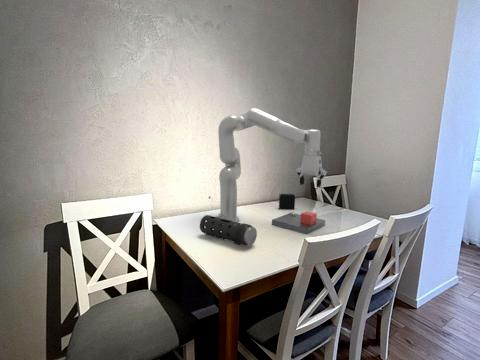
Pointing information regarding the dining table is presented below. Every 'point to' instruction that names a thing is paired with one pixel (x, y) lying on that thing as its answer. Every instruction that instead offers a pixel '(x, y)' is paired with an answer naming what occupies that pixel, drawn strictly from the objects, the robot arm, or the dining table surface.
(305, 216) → the red block
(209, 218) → the muzzle brake
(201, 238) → the dining table surface
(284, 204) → the electronic device
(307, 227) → the board
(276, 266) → the dining table surface
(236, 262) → the dining table surface
